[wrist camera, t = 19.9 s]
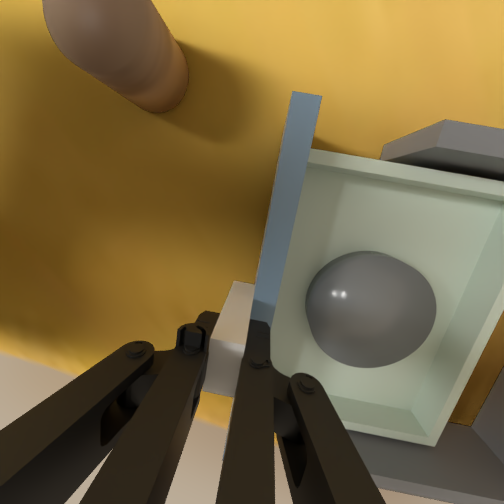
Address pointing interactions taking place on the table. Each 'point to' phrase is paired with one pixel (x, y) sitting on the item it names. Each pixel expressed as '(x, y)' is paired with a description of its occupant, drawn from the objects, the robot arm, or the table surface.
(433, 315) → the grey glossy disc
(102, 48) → the brown oval piece
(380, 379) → the tray
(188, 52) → the table surface
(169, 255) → the table surface
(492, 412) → the dock
